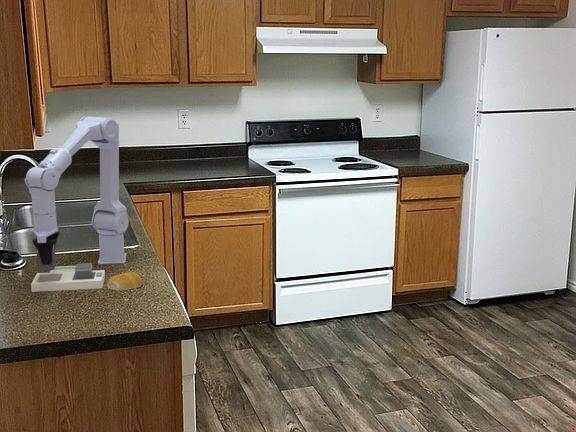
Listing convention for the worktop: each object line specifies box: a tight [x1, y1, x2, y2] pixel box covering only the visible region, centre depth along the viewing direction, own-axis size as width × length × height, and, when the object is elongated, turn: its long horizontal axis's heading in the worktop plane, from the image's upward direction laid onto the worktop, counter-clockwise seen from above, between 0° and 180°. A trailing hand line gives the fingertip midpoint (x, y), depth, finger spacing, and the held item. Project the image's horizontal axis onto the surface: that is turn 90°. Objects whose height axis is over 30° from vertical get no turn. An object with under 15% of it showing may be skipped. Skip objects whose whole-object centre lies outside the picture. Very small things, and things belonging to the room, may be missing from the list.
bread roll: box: [106, 271, 143, 292], centre depth 179 cm, size 8×9×4 cm
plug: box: [35, 246, 57, 272], centre depth 176 cm, size 4×4×7 cm
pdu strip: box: [30, 262, 106, 293], centre depth 179 cm, size 9×18×6 cm, turn 101°
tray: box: [49, 265, 76, 273], centre depth 188 cm, size 9×9×1 cm
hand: (48, 261), depth 177 cm, fingers closed on plug, 4 cm apart
